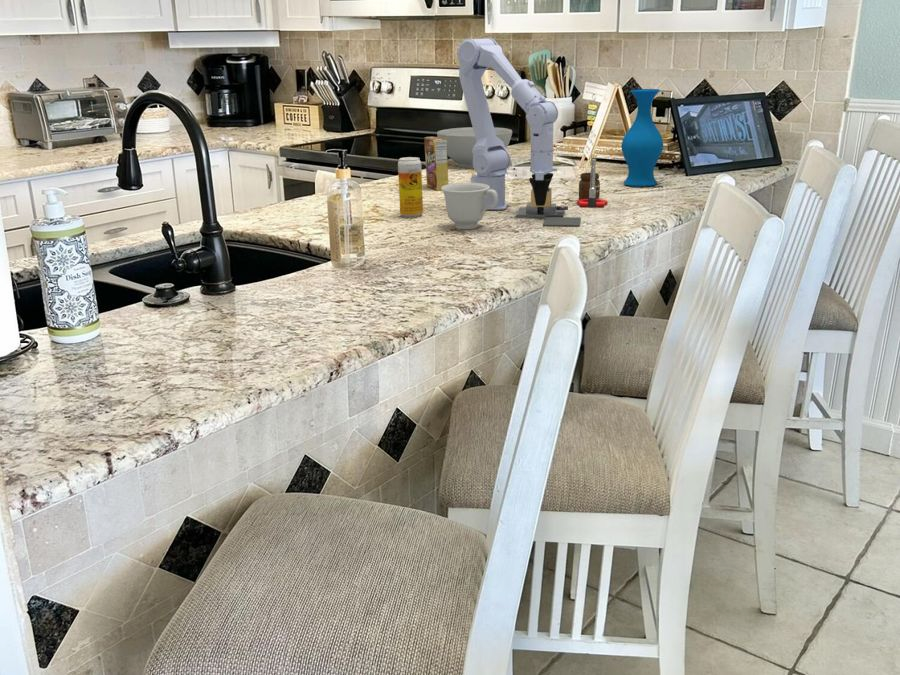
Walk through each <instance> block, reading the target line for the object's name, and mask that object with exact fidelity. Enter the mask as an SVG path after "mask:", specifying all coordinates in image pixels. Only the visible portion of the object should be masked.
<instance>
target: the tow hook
mask: <svg viewBox="0 0 900 675" xmlns="http://www.w3.org/2000/svg"><path fill="white" fill-rule="evenodd" d="M596 168H597V167H596V165H595V158H594V159H593V158H592V166H590V173H591V184H590V189H589V197H588V199H577V200H576V204H577V205H578V206H579V207H580V208H605V206H607V205H608V204H609V203H608V200H606V199H603V198H599V199H596V197H595V193H596V188H595V173H596Z"/></svg>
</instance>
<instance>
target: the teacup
mask: <svg viewBox="0 0 900 675" xmlns="http://www.w3.org/2000/svg"><path fill="white" fill-rule="evenodd" d="M489 188H490V186H489V185H486V184H482V183H471V182H455V183H448V185H444V186H442V187H441V189H442V190H441V191H442V192H443V196H444V201H445V209H446V214H447V217H448V218H449V220H450V222H451V221H452V222H453V223H454V228H455V229H456V230H457V229H458V230H474V229H476V228H478V226H479V225H478V223H479V221H481V220H482V219H483V217H484V216H485V212H486V211H487V209H490V208H493V207H494V206H495V205H496V204H497V202H498V195H497V192H496V191H495V190H492V189H490V190H488V189H489ZM489 194H492V195H493V197H494V200H493V203H492V204H490V205H488V206H486V207H485V205H486V199H487V198H488V197H489Z"/></svg>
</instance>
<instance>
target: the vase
mask: <svg viewBox="0 0 900 675" xmlns="http://www.w3.org/2000/svg"><path fill="white" fill-rule="evenodd" d="M630 92H631V93H632V95H633V96H634V98H635V100H636V103H637V113H636V117H635V119H634V121H633V123H632V125H631V126H630V128H629V129H628V130H627V131H626V133H625V134H624V135H623V139H622V141H621V153H622V156H623V158H624V160H625V163H626V164H627V168H628V173H627V177H626V178H625V179H624V182H623V184H624V185H625V186H629V187H638V188H639V187H640V188H645V187H653V186H655V185H657V184H658V181H657V179H656V178H655V175H654V170H655V167H656V165H657V163H658V161H659V158H660V157H661V156H662V153H663V150H664V139H663V136H662V135H661V132H660V131H659V130H658V128H657V126H656V125H655V123H654V120H653V117H652V103H653V101H654V99H655V97H656V96H657V95H658V94H659V92H661V89H658V88H657V89H656V88H640V89H639V88H638V89H635V88H634V89H631V90H630Z"/></svg>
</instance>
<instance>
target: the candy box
mask: <svg viewBox="0 0 900 675" xmlns="http://www.w3.org/2000/svg"><path fill="white" fill-rule="evenodd" d="M424 156H425V174H426V176H425V177H426V187H429V188H430V189H433V190H435V191H436V192H437V191H443V190H442V189H441V187H442V186H444V185H448V184H449V166H448V165H449V164H448V162H449V161H448V160H449V159H448V155H447V140H445V139H441V138H438V136H426V137H424Z"/></svg>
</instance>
